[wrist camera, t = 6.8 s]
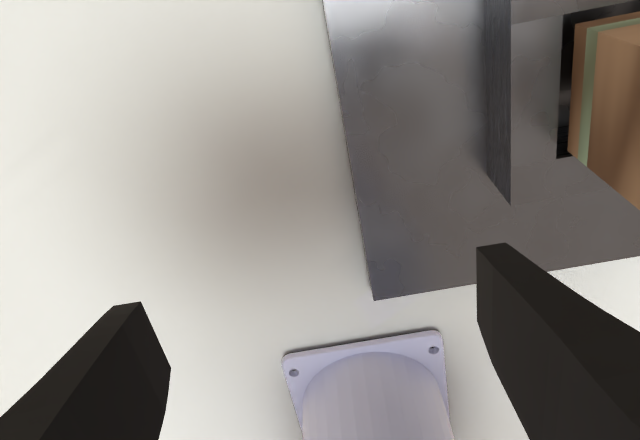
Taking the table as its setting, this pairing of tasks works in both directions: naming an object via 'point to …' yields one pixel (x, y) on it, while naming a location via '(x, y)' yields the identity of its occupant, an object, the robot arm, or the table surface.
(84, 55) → the table surface
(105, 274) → the table surface
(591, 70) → the walnut post
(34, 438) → the robot arm
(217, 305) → the table surface
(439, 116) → the dark grey stepped base
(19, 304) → the table surface
